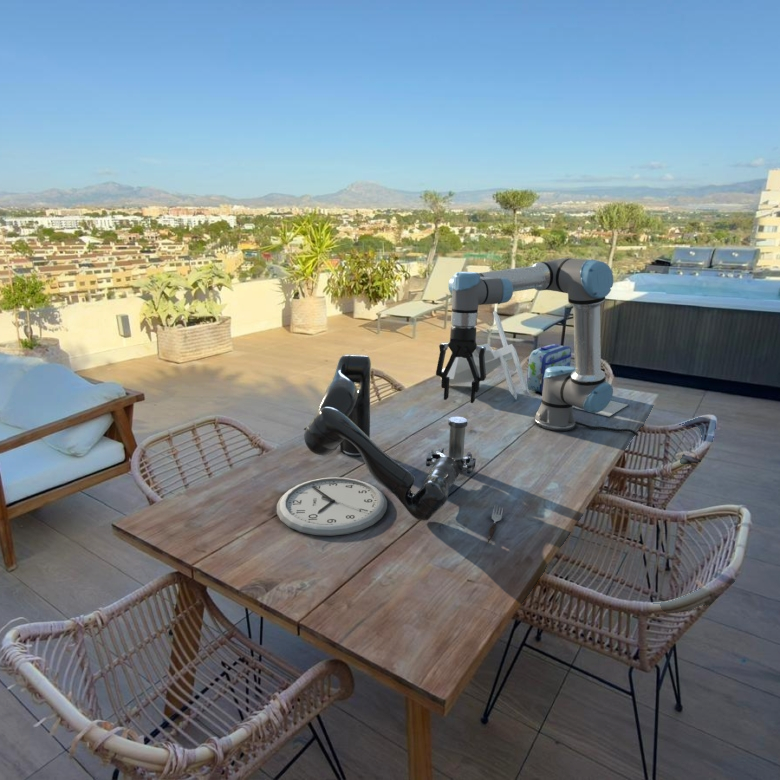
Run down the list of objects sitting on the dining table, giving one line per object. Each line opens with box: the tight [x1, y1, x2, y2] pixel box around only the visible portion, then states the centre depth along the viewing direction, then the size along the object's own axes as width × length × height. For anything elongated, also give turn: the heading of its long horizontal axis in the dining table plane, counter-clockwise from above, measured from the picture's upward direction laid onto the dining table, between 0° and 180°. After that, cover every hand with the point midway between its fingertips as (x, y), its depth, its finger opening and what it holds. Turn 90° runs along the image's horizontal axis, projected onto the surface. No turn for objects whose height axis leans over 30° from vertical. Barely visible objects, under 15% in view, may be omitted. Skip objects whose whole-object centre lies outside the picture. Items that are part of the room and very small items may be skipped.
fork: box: [487, 505, 504, 543], centre depth 133 cm, size 3×16×2 cm, turn 160°
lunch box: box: [526, 343, 572, 394], centre depth 247 cm, size 26×11×21 cm, turn 134°
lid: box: [448, 416, 468, 428], centre depth 162 cm, size 6×6×2 cm
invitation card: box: [573, 400, 629, 418], centre depth 226 cm, size 21×1×15 cm
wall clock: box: [276, 476, 388, 537], centre depth 142 cm, size 30×2×30 cm
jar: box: [448, 426, 466, 458], centre depth 164 cm, size 5×5×16 cm
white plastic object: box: [440, 310, 531, 400], centre depth 245 cm, size 37×45×31 cm
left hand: (455, 452), depth 164 cm, fingers open, 8 cm apart
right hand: (459, 399), depth 160 cm, fingers open, 8 cm apart
